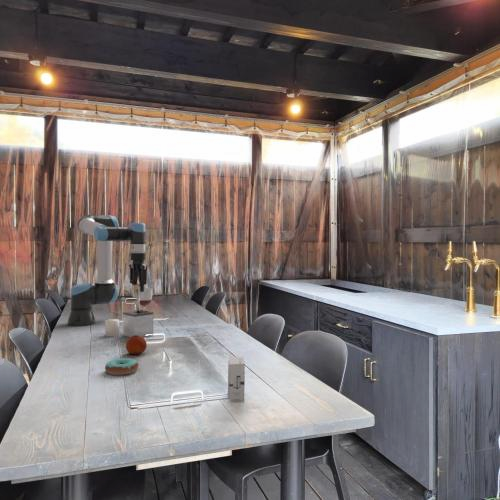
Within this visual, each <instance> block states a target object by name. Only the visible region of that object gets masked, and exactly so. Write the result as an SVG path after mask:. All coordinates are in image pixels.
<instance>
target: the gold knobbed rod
mask: <svg viewBox="0 0 500 500" xmlns="http://www.w3.org/2000/svg"><path fill="white" fill-rule="evenodd" d="M138 285H139V283H138V284H136V285H134V291H137V299H136V311H137V313H140V310H141V308H140V307H141V306H140V298H138Z"/></svg>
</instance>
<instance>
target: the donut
mask: <svg viewBox="0 0 500 500" xmlns="http://www.w3.org/2000/svg"><path fill="white" fill-rule="evenodd" d="M138 368H139V363H138V361H137V360H136V359H133V358H123V357H122V358H115V359H112V360H109V361H107V362H106V364H105V365H104V371H105V372H106V374H108V375H110V376H126V375H125V374H127V375H131V374H133V373H135V372H136V371H137V370H138ZM130 373H131V374H130Z"/></svg>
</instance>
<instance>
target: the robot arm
mask: <svg viewBox="0 0 500 500" xmlns="http://www.w3.org/2000/svg"><path fill="white" fill-rule="evenodd" d="M76 227H77V229H78V231H79V232H81V234H84V235H91V236H93V238H94V239H95V241H97V266H96V267H97V268H96V269H97V273H96V274H97V276H96V277H97V278H96V280H95V281H94V285H93V284H92V283H89V282H87V283H80V284H76V285H73V286H72V287H71V288H70V313H69V316H68V319H67V325H68V326H71V327H72V326H74V327H79V326H90V325H93V324H95V323H96V318H95V315H94V312H93V306H97V305H108V304H109V305H110V304H114V303H115V302H116V301H117V299H118V295H119V289H118V288H119V287H118V285H117V284H116V283H115V280H113V244H114V243H113V242H130V252H131V253H130V260H131V261H132V263H131V264H130V263H129V264H128V267H129V283H130V284H131V285H132V298H136V297H137V291H134V285H136V284H139V285H138V298H144V288H145V285H147V283H148V281H147V280H148V279H147V278H148V274H147V273H148V265H147V264H145V261H146V259H147V257H146V256H147V255H146V251H147V250H146V248H147V247H146V246H147V245H146V237H147V234H146V233H147V229H146V224H145V223H144V222H131V223H130V226H120V224H119V221H118V218H117V217H116V216H114V215H109V214H86V215H83V216H81V217H80V218H78V220H77V223H76Z"/></svg>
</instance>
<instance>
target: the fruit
mask: <svg viewBox="0 0 500 500" xmlns="http://www.w3.org/2000/svg"><path fill="white" fill-rule="evenodd" d="M125 349H126V351H127V353H128V354H130V355H139V354H143V353H144V351H146V349H147V340H146V339H145V337H140V336H138V335H134V336H132V337H128V338H127V340H126V342H125Z"/></svg>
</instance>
